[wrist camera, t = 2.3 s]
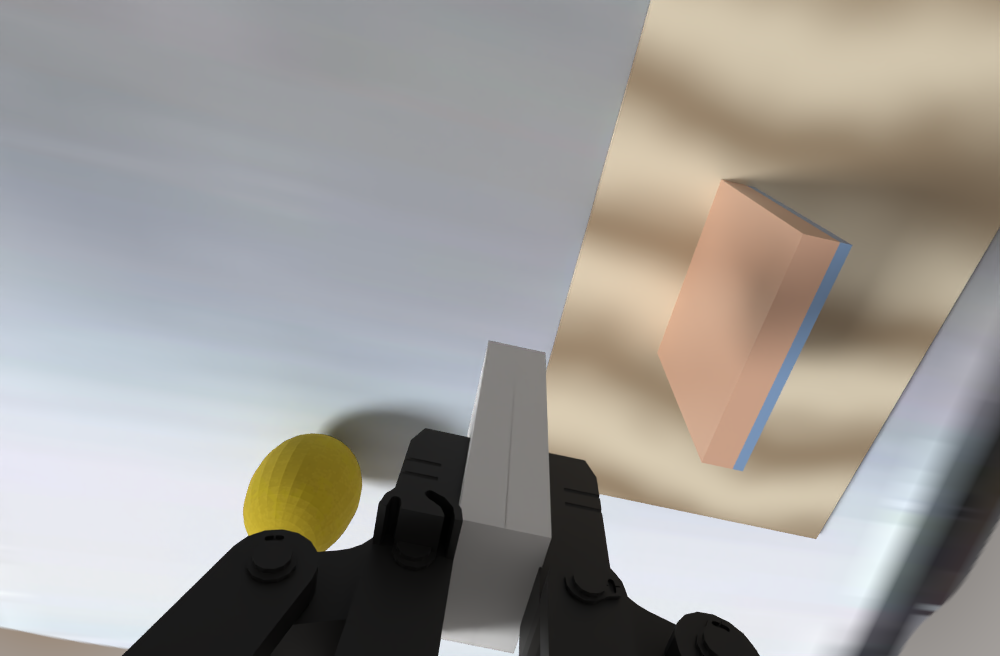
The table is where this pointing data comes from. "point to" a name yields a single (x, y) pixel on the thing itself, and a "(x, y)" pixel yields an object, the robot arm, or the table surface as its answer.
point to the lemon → (305, 490)
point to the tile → (745, 317)
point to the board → (807, 190)
